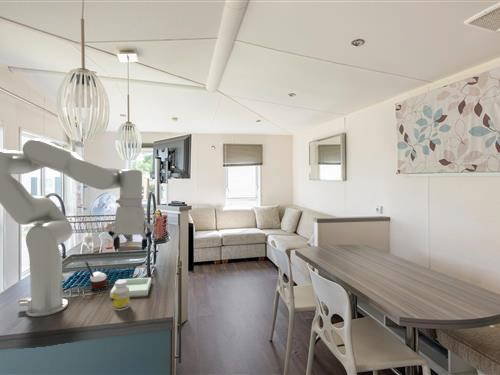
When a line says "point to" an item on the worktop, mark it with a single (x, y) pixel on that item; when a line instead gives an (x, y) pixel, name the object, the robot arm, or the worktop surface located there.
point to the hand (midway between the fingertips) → (130, 248)
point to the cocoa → (97, 278)
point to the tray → (136, 287)
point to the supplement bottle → (121, 295)
